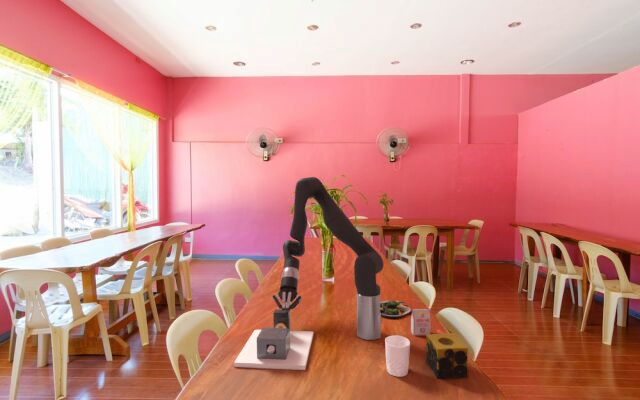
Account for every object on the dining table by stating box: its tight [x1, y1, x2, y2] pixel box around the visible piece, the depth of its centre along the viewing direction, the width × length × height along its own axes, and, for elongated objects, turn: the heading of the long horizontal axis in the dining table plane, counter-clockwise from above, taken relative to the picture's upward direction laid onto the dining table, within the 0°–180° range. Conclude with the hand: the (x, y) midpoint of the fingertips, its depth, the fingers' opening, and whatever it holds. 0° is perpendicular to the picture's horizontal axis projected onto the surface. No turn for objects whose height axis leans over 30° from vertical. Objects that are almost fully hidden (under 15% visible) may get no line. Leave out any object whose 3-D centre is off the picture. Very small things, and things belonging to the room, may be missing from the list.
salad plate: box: [380, 300, 412, 320], centre depth 156 cm, size 19×18×5 cm
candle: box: [425, 332, 469, 380], centre depth 106 cm, size 10×10×10 cm
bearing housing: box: [257, 327, 291, 360], centre depth 115 cm, size 10×8×7 cm
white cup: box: [384, 334, 411, 378], centre depth 106 cm, size 8×8×10 cm
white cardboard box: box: [410, 308, 432, 337], centre depth 131 cm, size 4×7×10 cm, turn 90°
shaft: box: [267, 309, 291, 354], centre depth 120 cm, size 6×20×9 cm, turn 175°
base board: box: [233, 329, 314, 371], centre depth 120 cm, size 24×24×2 cm
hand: (284, 318), depth 133 cm, fingers closed
